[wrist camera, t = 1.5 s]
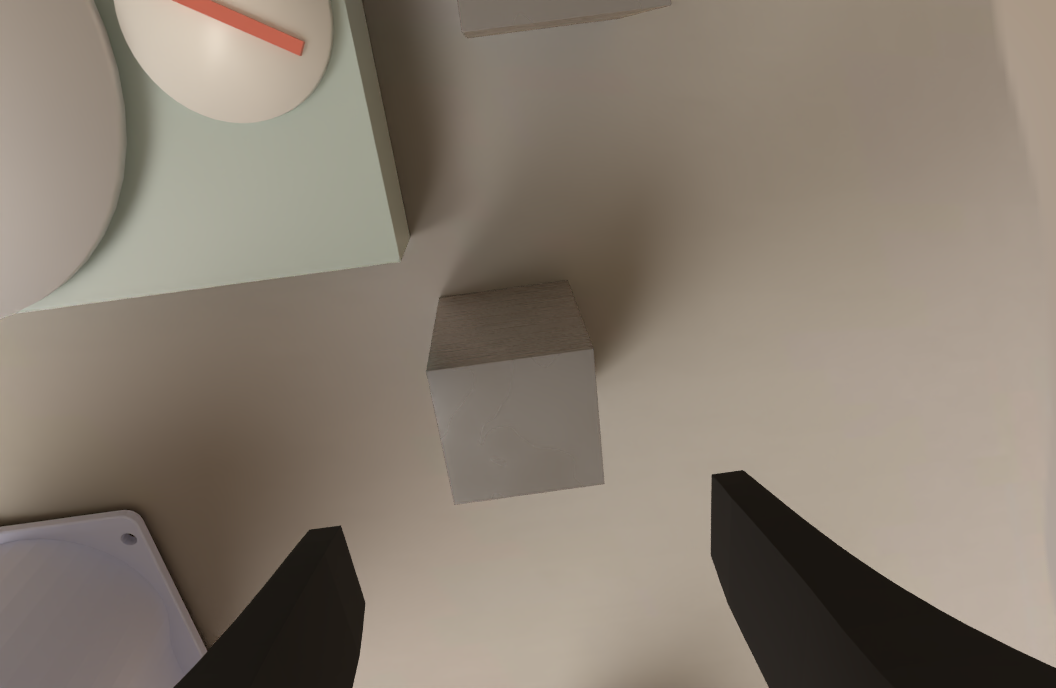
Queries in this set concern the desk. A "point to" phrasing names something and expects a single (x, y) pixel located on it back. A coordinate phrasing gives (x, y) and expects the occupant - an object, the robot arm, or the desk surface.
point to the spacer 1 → (543, 13)
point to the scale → (188, 147)
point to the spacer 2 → (515, 393)
